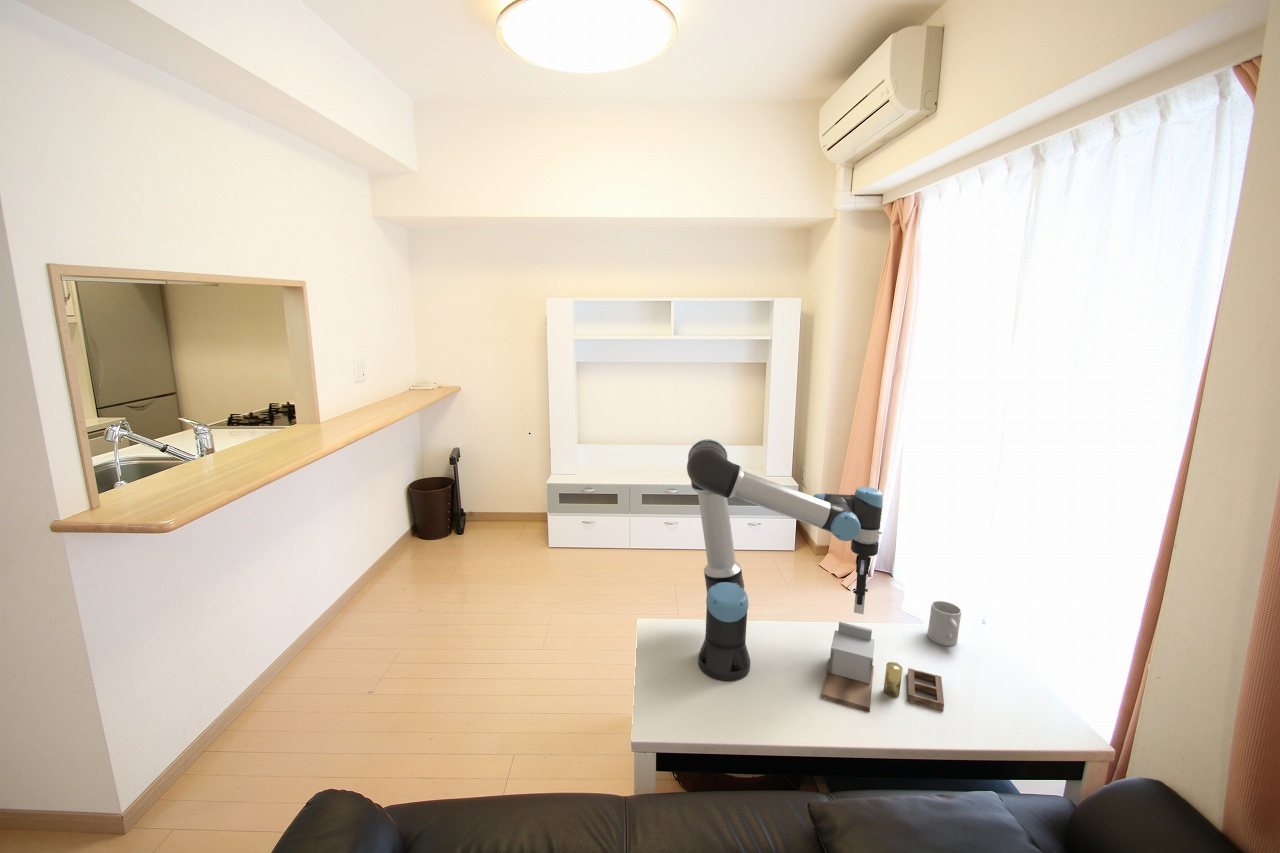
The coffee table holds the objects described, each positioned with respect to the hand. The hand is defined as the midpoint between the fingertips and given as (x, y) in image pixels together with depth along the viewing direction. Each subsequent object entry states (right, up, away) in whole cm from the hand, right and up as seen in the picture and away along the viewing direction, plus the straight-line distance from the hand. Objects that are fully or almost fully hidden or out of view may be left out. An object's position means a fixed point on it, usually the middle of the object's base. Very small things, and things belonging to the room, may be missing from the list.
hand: (858, 612), depth 167 cm
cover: (-6, -13, -8) cm, 17 cm away
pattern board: (-8, -16, -13) cm, 22 cm away
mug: (+31, -13, +9) cm, 35 cm away
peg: (+3, -17, -16) cm, 23 cm away
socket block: (+12, -17, -16) cm, 26 cm away
